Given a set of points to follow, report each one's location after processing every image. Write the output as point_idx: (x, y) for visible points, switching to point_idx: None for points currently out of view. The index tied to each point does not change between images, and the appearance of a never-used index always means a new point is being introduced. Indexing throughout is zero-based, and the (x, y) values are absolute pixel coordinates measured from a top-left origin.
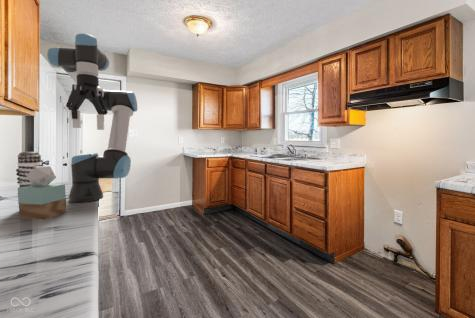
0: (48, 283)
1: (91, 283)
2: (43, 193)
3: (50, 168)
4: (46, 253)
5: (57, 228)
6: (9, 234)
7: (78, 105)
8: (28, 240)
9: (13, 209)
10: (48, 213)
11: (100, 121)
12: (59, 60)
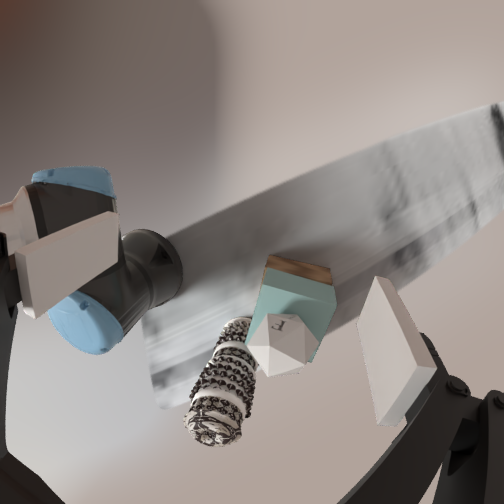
0: None
1: None
2: (330, 297)
3: (273, 339)
4: (491, 169)
5: (395, 208)
6: (410, 275)
7: (450, 415)
8: (445, 225)
9: None
10: (320, 270)
11: (76, 255)
12: None
